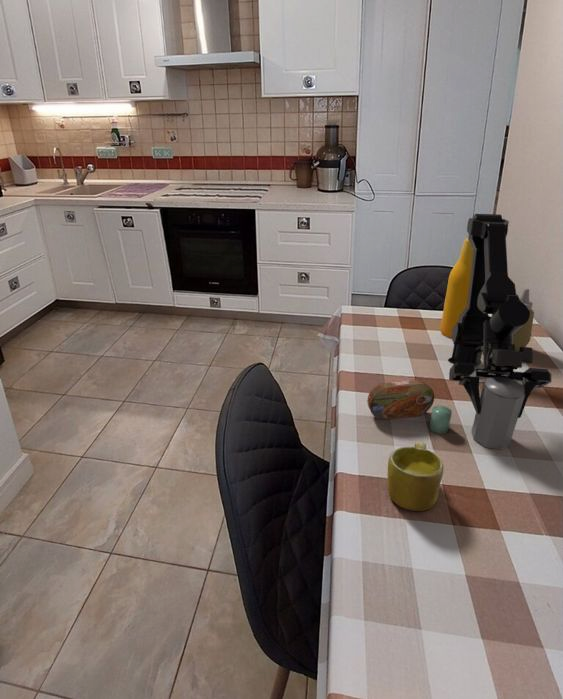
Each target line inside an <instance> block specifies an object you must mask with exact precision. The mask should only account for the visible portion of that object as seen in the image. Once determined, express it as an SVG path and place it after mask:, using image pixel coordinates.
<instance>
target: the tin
mask: <svg viewBox="0 0 563 699" xmlns="http://www.w3.org/2000/svg"><path fill="white" fill-rule="evenodd" d="M366 400H367V401H366V402H367V406H368V409H369V410H370V413H371V414H372V415H373V417H375V418H377V419H378V420H382V421H383V420H395V419H402V418H412V417H419V416H421V415H423V414H425V413H427V412H428V411H429V410H431V407H433V404H434V402H435V392H434V390H433V389H432V388H431V387H430V386H429V385H428V384H427V383H426V382H425V381H422V380H421V379H420V380H419V379H411V380H398V381H391V382H390V381H389V382H383V383H379V384H378V385H375V386H374V387H373V388H372V389H371V390H370V392H369V394H368V396H367V399H366Z"/></svg>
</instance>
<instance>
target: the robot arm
mask: <svg viewBox="0 0 563 699" xmlns="http://www.w3.org/2000/svg"><path fill="white" fill-rule="evenodd" d="M509 223H510V221H509V220H507V219H504V218H503V217H502V214H495V213H494V214H493V213H474V215H473V216H472V217H469V218H468V221H467V226H466V231H467V233H468V236H467V238H468V240H469V242H470V244H471V246H472V248H473V259H472V267H471V275H470V284H469V292H468V300H467V307H466V308H465V309H464V311H463V312H462V313H461V314H460V316H459V320H458V323H456V325H455V326H454V328H453V329H452V335H451V338H450V339H451V340H452V343H453V350H452V355H451V357H449V358H448V360H447V362H450V363H452V364H453V365H452V366H451V367H450V369H449V373H448V375H449V376H448V379H449V380H450V381H453V382H458V385H459V386H462V387H463V388H464V389H465V391H466V393H467V395H468V396H469V399H470V401H471V403H472V405H473V408H474V410H475V414H476V413H477V414H480V396H481V393H480V386H479V385H480V381H481V380H480V379H481V378H482V379H488V378H490V377H506V378H509V379H512V380H515V381H517V382H519V383H520V384H521V385H522V386H523V387H524V390H525V391H524V393H525V397H524V400H523V403H522V407H521V410H520V413H519V416H518V419H520V418H521V417H522V415H523V412H524V409H525V406H526V404H527V402H528V398H529V396H530V395H531V393H532V391H533V390H536V389H542V388H544V387H545V386H547V385H549V384H551V383H552V373H551V371H549V369H548V368H536V367H529V368H528V369H526V370H524V371H514V370H517V369H521V368H523V364H532V362H533V360H534V359H533V358H534V351H533V347H529V346H526V347H520V350H519V351H515V344H513V334H515V333H516V332H517V331H518V330H519V329H520V328H521V327H522V326H523V325H524V324H525V323H526V322H527V321H528V320H529V317H530V311H529V310H528V308H527V306H526V305H525V304H524V303H522V302H521V300H520V296H519V294H517V289H516V284H515V282H514V281H513V280H512V279H511V278H510V277H509V273H508V272H509V271H508V270H509V269H508V254H507V253H508V252H507V251H508V249H507V236H508V232H509ZM490 315H491V316H490ZM482 348H483V349H482ZM482 356H483V365H482V366H483V368H478V367H476V366H478V365H480V364H482V360H481V359H482Z"/></svg>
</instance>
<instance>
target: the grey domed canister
mask: <svg viewBox="0 0 563 699" xmlns="http://www.w3.org/2000/svg"><path fill="white" fill-rule="evenodd" d="M481 388H482V389H481V391H480V414H477V413H476V412H475V415H474V420H473V424H472V427H471V435H472V439H473V441H475V442H477V443H478V444H480V445H481V446H482V447H485V448H487V449H496V450H503V449H504V448H506V447H509V445H510V444H511V441H512V439H513V436H514V433H515V432H514V431H515V428H516V425H517V422H518V419H519V418H518V416H519V413H520V410H521V407H522V403H523V400H524V397H525V393H524V391H525V390H524V387H523V386H522V385H521V384H520V382H519V381H515V380H512V379H509V378H506V377H490V378H486V380H485V381H484V382H483V385H482V387H481Z"/></svg>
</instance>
